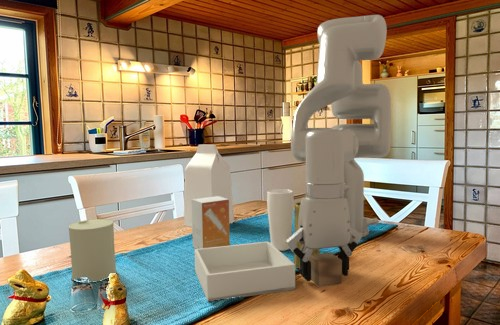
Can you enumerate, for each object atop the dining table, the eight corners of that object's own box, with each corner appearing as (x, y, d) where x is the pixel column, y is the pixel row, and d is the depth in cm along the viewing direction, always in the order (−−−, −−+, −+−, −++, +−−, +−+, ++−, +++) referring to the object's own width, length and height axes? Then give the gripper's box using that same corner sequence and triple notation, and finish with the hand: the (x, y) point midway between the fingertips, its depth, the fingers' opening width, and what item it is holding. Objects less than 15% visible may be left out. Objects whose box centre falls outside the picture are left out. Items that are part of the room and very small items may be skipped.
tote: (268, 262, 93) (268, 241, 93) (295, 289, 78) (295, 264, 77) (195, 271, 88) (194, 249, 88) (207, 301, 73) (207, 275, 72)
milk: (183, 225, 129) (180, 145, 126) (205, 218, 139) (203, 143, 136) (213, 230, 122) (211, 145, 120) (234, 222, 132) (232, 143, 130)
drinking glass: (297, 246, 105) (296, 189, 104) (289, 253, 99) (288, 194, 98) (273, 243, 108) (272, 188, 106) (263, 250, 102) (262, 192, 100)
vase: (314, 272, 86) (313, 207, 85) (288, 267, 89) (287, 205, 88) (324, 264, 91) (324, 202, 90) (300, 259, 94) (299, 200, 93)
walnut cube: (330, 275, 85) (330, 252, 84) (341, 284, 80) (341, 260, 80) (308, 278, 83) (308, 255, 83) (319, 287, 79) (318, 262, 78)
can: (97, 265, 94) (94, 215, 92) (125, 272, 89) (122, 219, 88) (62, 278, 86) (58, 224, 85) (90, 287, 81) (87, 229, 80)
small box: (203, 253, 101) (201, 202, 99) (192, 247, 106) (190, 199, 105) (230, 247, 105) (229, 198, 104) (219, 241, 110) (217, 195, 109)
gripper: (353, 185, 86) (353, 265, 88) (277, 191, 81) (278, 274, 83) (373, 191, 79) (372, 277, 80) (291, 197, 74) (292, 288, 76)
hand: (324, 275), depth 82 cm, fingers open, 7 cm apart
